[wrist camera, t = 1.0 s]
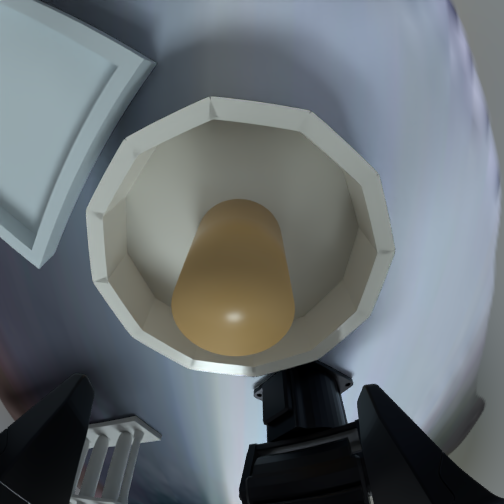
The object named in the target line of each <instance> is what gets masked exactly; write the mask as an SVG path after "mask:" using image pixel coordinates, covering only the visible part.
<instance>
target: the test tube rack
mask: <svg viewBox="0 0 504 504" xmlns="http://www.w3.org/2000/svg"><path fill="white" fill-rule="evenodd" d="M161 437H162V435H161V434H159V433H158V432H157V431H155V430H154V429H153V428H151V427H150V426H148V425H147V424H146V423H144V422H143V421H142V420H141V419H139V418H138V417H137V416H133V417H128V418H123V419H118V420H113V421H107V422H101V423H96V424H90V425H89V427H88V432H87V436H86V439H85V443H84V446H83V450H82V454H81V457H80V461H79V465H78V469H77V473H76V477H75V481H74V485H73V490H72V494H71V498H70V503H69V504H128V499H127V498H128V493H129V489H130V484H131V480H132V476H133V471H134V467H135V463H136V459H137V454H138V450H139V446H140V443H144V442H151V441H158V440H161ZM131 444H132V448H131ZM110 446H115V449H114V453H113V456H112V460H111V463H110V467H109V471H108V474H107V478H106V482H105V485H104V489H103V493H102V497H101V498H95V497H94V495H95V491H96V488H97V484H98V480H99V477H100V473H101V470H102V466H103V463H104V460H105V456H106V453H107V449H108V447H110ZM88 448H93V451H92V454H91V457H90V460H89V463H88V466H87V470H86V473H85V476H84V479H83V483H82V486H81V490H80V493H79V495H74V493H75V490H76V486H77V483H78V480H79V477H80V473H81V470H82V467H83V464H84V461H85V458H86V455H87V452H88ZM130 448H131V452H130ZM129 452H130V456H129ZM128 456H129V460H128ZM127 460H128V464H127ZM126 464H127V468H126ZM125 468H126V472H125ZM124 472H125V476H124ZM123 476H124V480H123ZM122 480H123V484H122ZM121 484H122V488H121ZM120 488H121V493H120ZM119 493H120V497H119Z"/></svg>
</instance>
